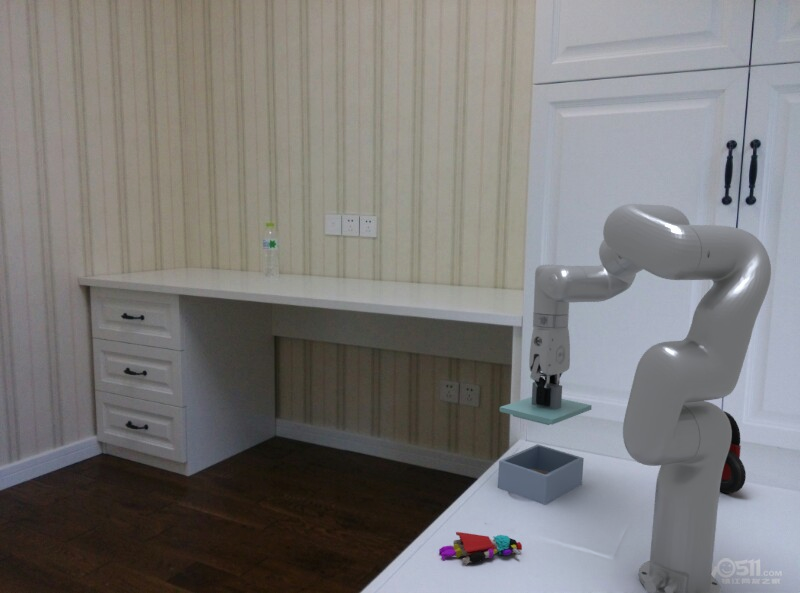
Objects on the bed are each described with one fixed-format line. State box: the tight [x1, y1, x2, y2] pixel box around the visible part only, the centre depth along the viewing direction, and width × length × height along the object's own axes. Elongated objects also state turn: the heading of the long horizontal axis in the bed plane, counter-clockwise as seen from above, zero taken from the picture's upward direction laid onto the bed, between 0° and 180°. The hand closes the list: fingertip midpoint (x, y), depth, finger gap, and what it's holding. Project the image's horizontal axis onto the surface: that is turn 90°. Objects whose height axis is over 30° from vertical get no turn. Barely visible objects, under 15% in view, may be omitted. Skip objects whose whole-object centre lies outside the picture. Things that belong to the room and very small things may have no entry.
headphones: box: [720, 410, 747, 494], centre depth 145 cm, size 18×10×20 cm, turn 114°
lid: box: [499, 381, 593, 426], centre depth 144 cm, size 17×13×7 cm
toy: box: [438, 531, 523, 566], centre depth 117 cm, size 8×4×15 cm
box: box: [497, 443, 585, 506], centre depth 146 cm, size 16×12×7 cm
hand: (546, 403), depth 144 cm, fingers closed on lid, 2 cm apart
